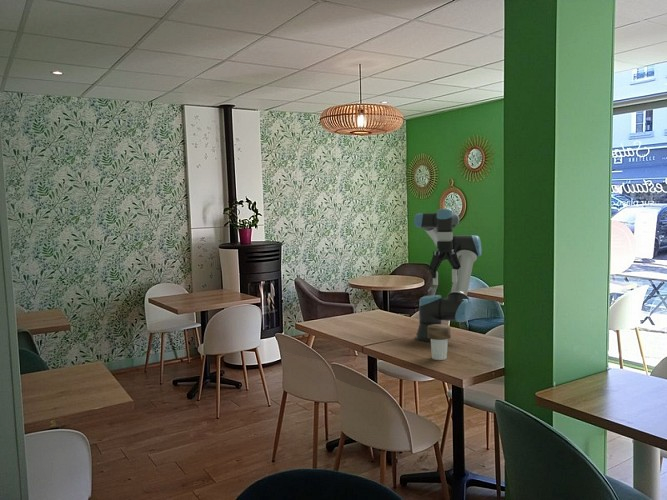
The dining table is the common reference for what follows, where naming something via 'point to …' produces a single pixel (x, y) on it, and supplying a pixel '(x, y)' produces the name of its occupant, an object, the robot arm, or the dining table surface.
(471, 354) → the dining table surface
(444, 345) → the white cup
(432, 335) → the walnut lid
